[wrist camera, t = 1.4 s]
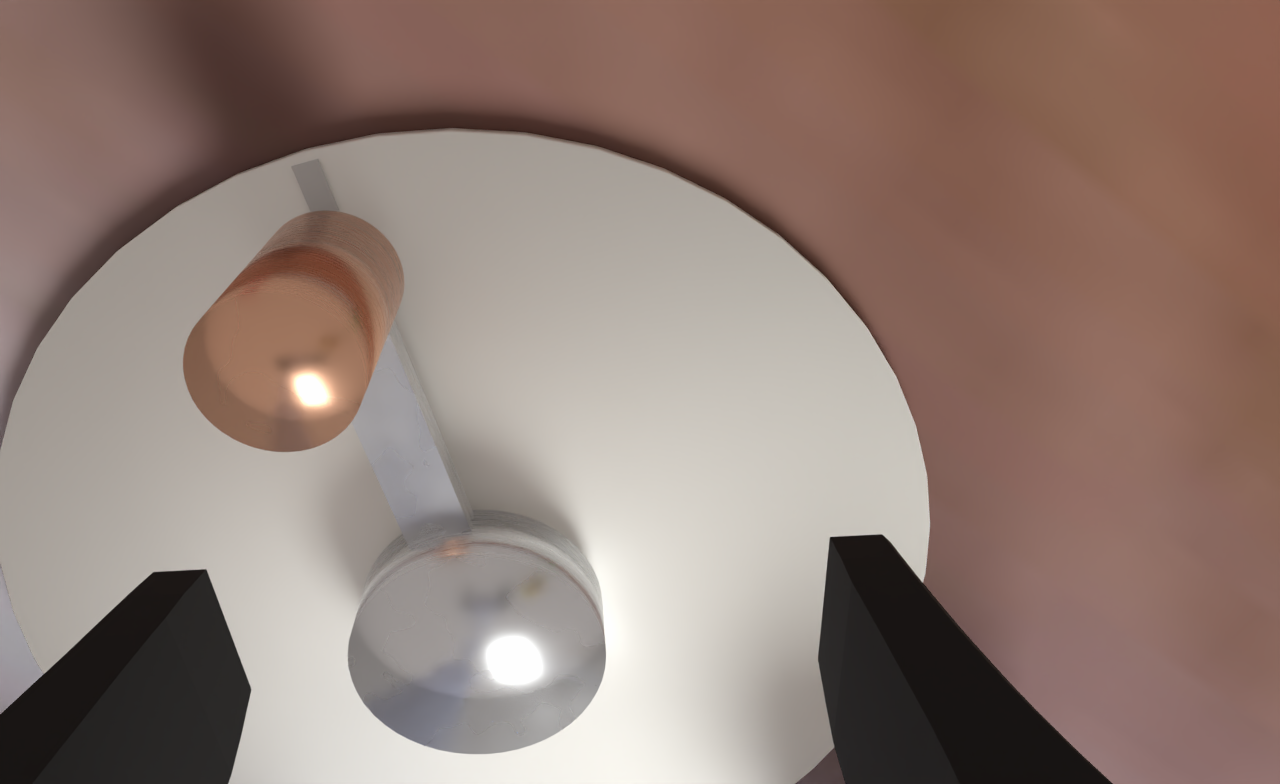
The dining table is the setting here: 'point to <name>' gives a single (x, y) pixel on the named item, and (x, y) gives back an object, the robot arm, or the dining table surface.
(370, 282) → the white and tan pieces
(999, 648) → the dining table surface
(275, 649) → the white plate
